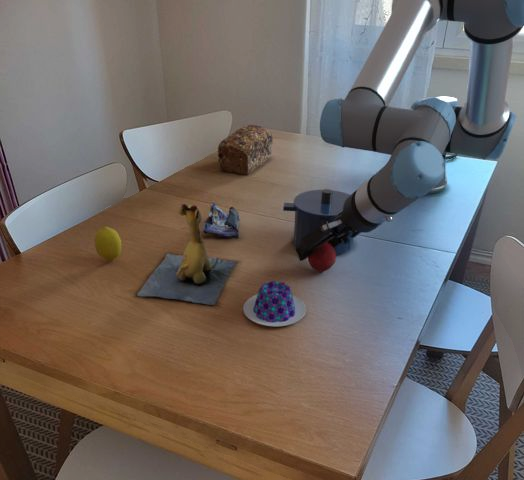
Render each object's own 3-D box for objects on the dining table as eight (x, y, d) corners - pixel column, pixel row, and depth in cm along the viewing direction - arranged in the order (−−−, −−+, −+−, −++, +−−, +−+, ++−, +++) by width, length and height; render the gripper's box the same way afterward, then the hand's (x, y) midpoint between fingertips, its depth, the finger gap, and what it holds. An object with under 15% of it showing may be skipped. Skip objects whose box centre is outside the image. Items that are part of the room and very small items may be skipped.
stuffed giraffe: (237, 261, 120) (232, 192, 110) (214, 307, 106) (206, 233, 96) (168, 256, 123) (157, 187, 113) (137, 300, 109) (122, 227, 99)
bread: (244, 153, 179) (244, 121, 173) (274, 158, 175) (275, 125, 169) (216, 171, 165) (215, 137, 159) (248, 176, 162) (248, 142, 156)
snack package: (258, 227, 135) (221, 214, 140) (257, 204, 130) (218, 192, 135) (229, 253, 128) (191, 238, 133) (226, 230, 123) (187, 216, 128)
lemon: (128, 257, 122) (123, 223, 117) (115, 268, 117) (109, 234, 113) (106, 253, 123) (100, 219, 118) (93, 264, 119) (86, 230, 114)
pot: (285, 227, 134) (286, 190, 129) (363, 232, 133) (368, 194, 127) (279, 253, 124) (281, 213, 118) (364, 259, 122) (370, 219, 116)
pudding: (245, 294, 110) (244, 271, 106) (304, 295, 109) (306, 272, 106) (241, 328, 100) (240, 304, 97) (306, 330, 100) (308, 306, 97)
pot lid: (296, 192, 129) (296, 177, 127) (358, 195, 128) (360, 180, 126) (290, 218, 118) (291, 202, 115) (359, 222, 116) (361, 206, 114)
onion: (329, 281, 114) (332, 246, 109) (303, 275, 116) (305, 241, 111) (337, 268, 118) (341, 234, 113) (312, 263, 120) (314, 229, 115)
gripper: (337, 236, 92) (281, 278, 113) (418, 213, 100) (352, 257, 121) (321, 195, 93) (268, 245, 114) (403, 176, 101) (339, 226, 122)
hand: (311, 251), depth 117 cm, fingers closed on onion, 6 cm apart
